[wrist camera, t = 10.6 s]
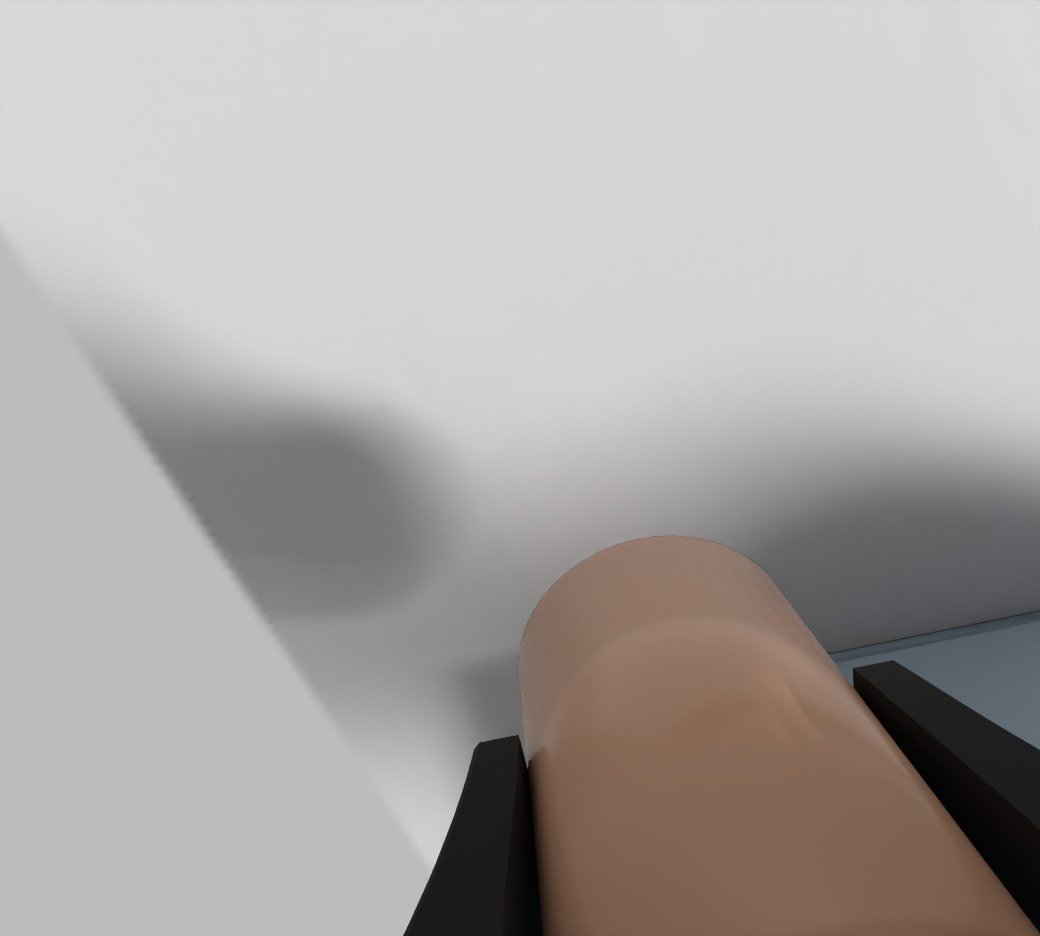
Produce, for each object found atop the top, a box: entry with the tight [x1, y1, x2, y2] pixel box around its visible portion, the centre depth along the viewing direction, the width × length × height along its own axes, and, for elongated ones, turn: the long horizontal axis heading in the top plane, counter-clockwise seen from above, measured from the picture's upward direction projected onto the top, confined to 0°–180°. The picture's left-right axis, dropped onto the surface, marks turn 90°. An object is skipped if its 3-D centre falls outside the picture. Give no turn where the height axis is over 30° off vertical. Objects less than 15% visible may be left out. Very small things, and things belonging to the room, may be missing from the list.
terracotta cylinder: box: [518, 536, 1040, 936], centre depth 10 cm, size 5×5×7 cm
